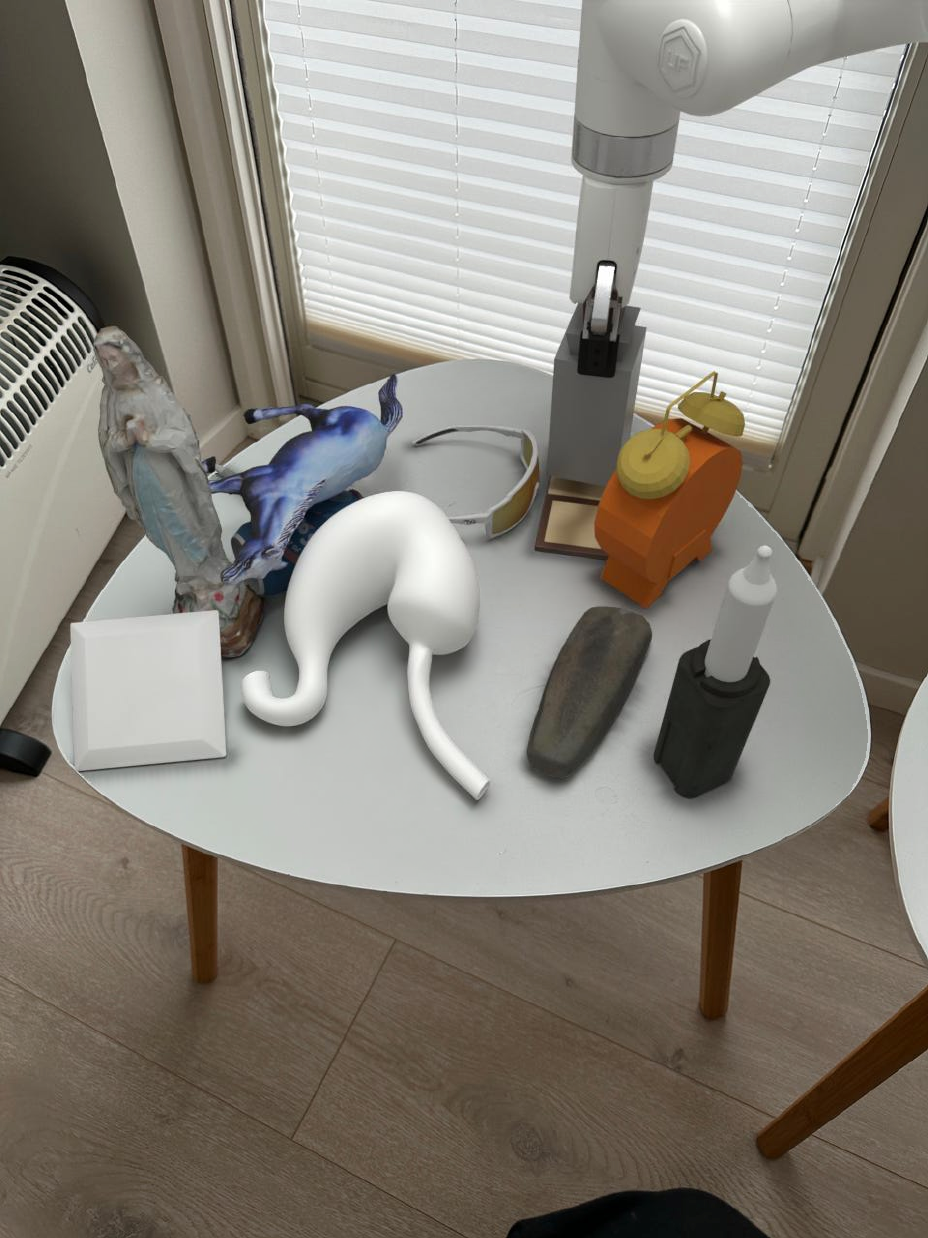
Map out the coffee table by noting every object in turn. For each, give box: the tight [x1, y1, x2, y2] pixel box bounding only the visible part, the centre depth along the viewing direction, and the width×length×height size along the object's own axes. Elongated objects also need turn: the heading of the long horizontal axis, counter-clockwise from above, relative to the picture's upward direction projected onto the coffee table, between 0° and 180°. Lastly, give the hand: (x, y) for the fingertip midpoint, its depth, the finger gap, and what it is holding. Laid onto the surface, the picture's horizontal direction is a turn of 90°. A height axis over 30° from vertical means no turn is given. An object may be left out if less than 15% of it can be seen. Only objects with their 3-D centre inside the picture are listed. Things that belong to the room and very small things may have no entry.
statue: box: [92, 325, 266, 658], centre depth 72 cm, size 8×7×30 cm
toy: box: [201, 373, 404, 585], centre depth 82 cm, size 8×28×15 cm
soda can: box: [230, 488, 365, 597], centre depth 85 cm, size 7×7×12 cm
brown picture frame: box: [534, 476, 609, 561], centre depth 92 cm, size 7×14×1 cm, turn 168°
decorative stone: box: [525, 605, 653, 778], centre depth 76 cm, size 17×6×4 cm, turn 154°
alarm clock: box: [594, 370, 746, 610], centre depth 80 cm, size 13×6×20 cm, turn 135°
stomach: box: [240, 490, 491, 801], centre depth 76 cm, size 23×13×24 cm
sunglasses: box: [411, 424, 540, 538], centre depth 93 cm, size 14×15×5 cm
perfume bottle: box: [546, 288, 648, 487], centre depth 86 cm, size 7×7×18 cm
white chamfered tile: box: [69, 610, 227, 772], centre depth 77 cm, size 12×12×5 cm
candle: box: [653, 545, 778, 799], centre depth 64 cm, size 5×5×25 cm
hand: (601, 345), depth 82 cm, fingers closed on perfume bottle, 7 cm apart
